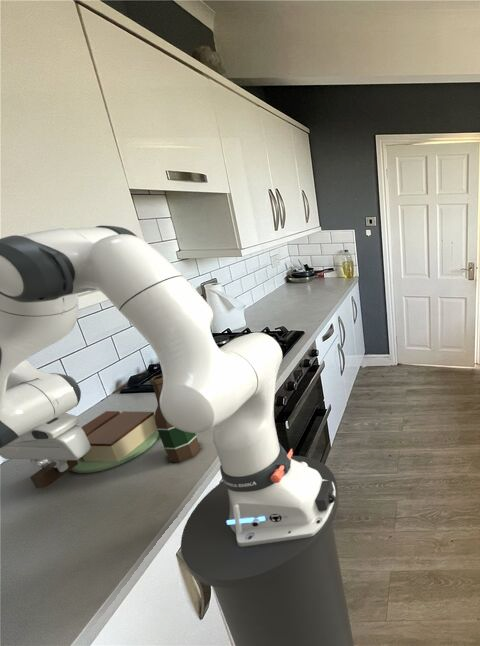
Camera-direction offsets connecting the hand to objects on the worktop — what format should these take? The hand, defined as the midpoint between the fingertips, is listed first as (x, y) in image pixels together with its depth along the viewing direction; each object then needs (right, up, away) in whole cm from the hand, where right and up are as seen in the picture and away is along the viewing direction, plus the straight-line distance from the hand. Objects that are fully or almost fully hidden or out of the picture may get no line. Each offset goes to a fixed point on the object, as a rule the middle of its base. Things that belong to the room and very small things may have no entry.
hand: (55, 470), depth 86 cm
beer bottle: (+25, +1, +10) cm, 27 cm away
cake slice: (-2, +2, +13) cm, 13 cm away
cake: (+4, +1, +13) cm, 13 cm away
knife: (0, +1, +7) cm, 7 cm away
